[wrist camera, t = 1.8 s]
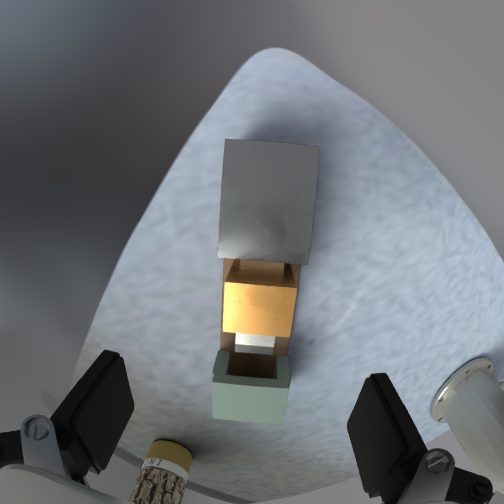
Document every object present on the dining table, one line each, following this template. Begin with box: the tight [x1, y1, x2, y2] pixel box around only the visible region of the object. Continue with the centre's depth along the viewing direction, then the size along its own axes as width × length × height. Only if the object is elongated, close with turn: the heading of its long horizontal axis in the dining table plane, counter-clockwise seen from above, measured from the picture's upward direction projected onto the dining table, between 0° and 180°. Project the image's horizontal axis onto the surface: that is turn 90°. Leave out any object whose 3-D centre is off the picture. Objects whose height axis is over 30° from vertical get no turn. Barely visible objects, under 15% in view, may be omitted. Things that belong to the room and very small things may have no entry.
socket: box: [212, 350, 291, 424], centre depth 25 cm, size 7×5×5 cm
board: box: [220, 258, 300, 379], centre depth 25 cm, size 7×24×1 cm, turn 176°
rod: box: [223, 259, 297, 355], centre depth 20 cm, size 4×15×7 cm, turn 176°
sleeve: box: [218, 139, 320, 265], centre depth 20 cm, size 6×8×5 cm
